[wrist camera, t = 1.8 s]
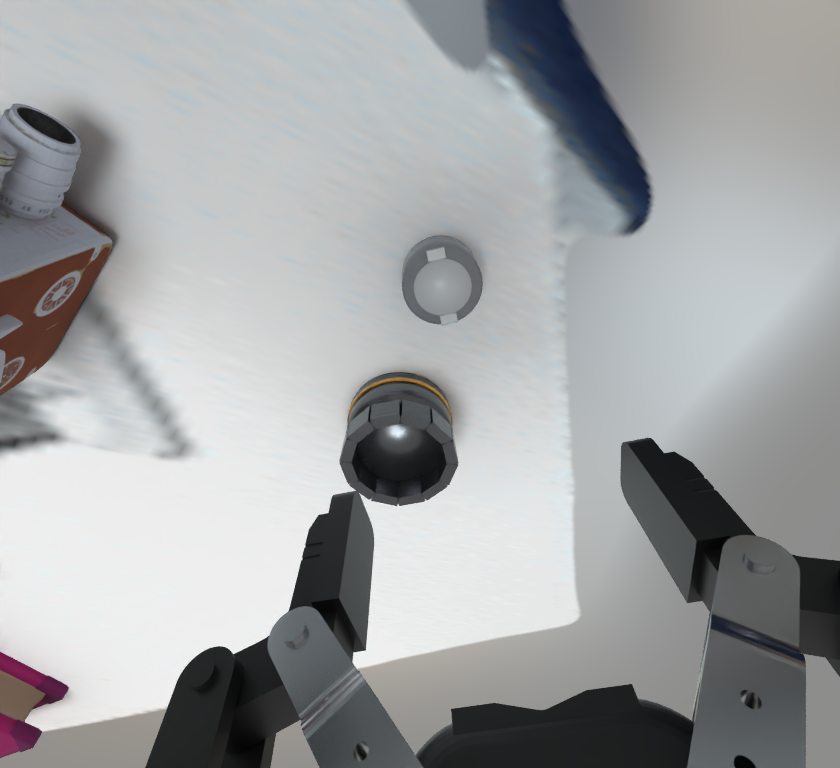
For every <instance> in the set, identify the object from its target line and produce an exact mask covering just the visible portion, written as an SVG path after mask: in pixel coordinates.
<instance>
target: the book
mask: <svg viewBox="0 0 840 768" xmlns="http://www.w3.org/2000/svg"><path fill="white" fill-rule="evenodd" d="M68 688H69V687H68V686H67V685H65V684H63V683H62V682H60V681H58V680H56V679H54V678H52V677H50V676H46V675H44V674H42V673H40V672H38V671H36V670H34V669H32V668H30V667H29V666H27V665H25V664H23V663H21V662H19V661H17V660H15V659H13V658H11V657H9V656H7V655H5V654H3V653H1V652H0V758H1V757H4V756H7V755H10V754H13V753H16V752H18V751H20V752H22V751H25V750H28V749H31V748H33V747H34V745H35V744H36V742H37V740H38V739H39V737H40V735H41V733H42V731H41V730H40V729H38V728H36V727H34V726H32V725H29V724H27V723H25V719H26V718H27V716H28V715H29V713H30V711H31V710H32V709H35V708H37V707H40V706H42V705H45V704H51V703H54V702H56V701H59V700H62V699H63V697H64V695H65V694H66V692H67V690H68Z"/></svg>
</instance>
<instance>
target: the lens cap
mask: <svg viewBox="0 0 840 768" xmlns="http://www.w3.org/2000/svg"><path fill="white" fill-rule="evenodd" d="M482 284H483V283H482V275H481V272H480V269H479V267H478V265H477V263H476V261H475V259H474V257H473V256H472V254H471V252H470V251H469V249H468V248H467V247H466V246H465V245H464V244H463V243H461V242H460V241H458V240H457V239H454V238H452V237H448V236H433V237H429V238H426V239H424V240H422V241H421V242H419V243H418V244H416V245H415V246H414V247H413V248H412V249H411V251H410V252H409V253H408V255H407V257H406V259H405V262H404V266H403V281H402V287H403V295H404V299H405V301H406V303H407V305H408V307H409V308H410V310H411V311H412V312H413V313H414V314H415V315H416V316H418V317H419V318H420V319H422V320H424V321H427V322H429V323H434V324H442V325H446V324H451V323H455V322H458V320H460V319H462V318H464V317H465V316H466V315H468V314H469V313H470V312H471V311H472V310H473V309H474V307H475V306H476V304H477V303H478V301H479V299H480V296H481V292H482Z"/></svg>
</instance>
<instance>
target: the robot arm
mask: <svg viewBox="0 0 840 768" xmlns="http://www.w3.org/2000/svg"><path fill="white" fill-rule="evenodd" d="M621 487H622V491H623V494H624V497H625V499H626V501H627V503H628V505H629V506H630V508H631V510H632V511H633V513H634V515H635V516H636V518H637V520H638V521H639V523H640V525H641V526H642V528H643V530H644V531H645V533H646V535H647V536H648V538H649V540H650V541H651V543H652V545H653V546H654V548H655V550H656V551H657V553H658V555H659V557H660V558H661V560H662V561H663V563H664V565H665V567H666V568H667V570H668V572H669V573H670V575H671V577H672V578H673V580H674V582H675V583H676V585H677V587H678V588H679V590H680V592H681V593H682V595H683V596H684V598H685V600H686V602H687V603H690V602H697V601H703V602H704V603H705V605H706V606H707V608H708V610H709V611H710V613H709V618H708V624H707V631H706V636H705V643H704V649H703V654H702V660H701V666H700V672H699V678H698V684H697V689H696V695H695V701H694V706H693V712H692V717H691V720H689V719H688V718H686V717H685V716H683V715H681V714H680V713H678V712H676V711H674V710H672V709H670V708H667V707H665V706H662V705H660V704H657V703H654V702H650V701H647V700H642V699H638V698H637V696H636V693H635V691H634V688H633V686H632V684H629V685H622V686H615V687H607V688H600V689H593V690H586V691H584V692H582V693H580V694H578V695H576V696H574V697H571V698H569V699H567V700H565V701H563V702H561V703H559V704H557V705H555V706H553V707H551V708H549V709H546V710H534V709H528V708H522V707H515V706H510V705H503V704H496V703H492V704H484V705H477V706H470V707H462V708H455V709H451V712H452V724H450V725H448V726H446V727H444V728H443V729H441V730H440V731H439V732H437V733H436V734H435V735H433V736H432V737H431V738H430V739H429V740H428V741H427V742H426V743H425V744H424V745H423V747H422V748H421V749H420V750H419V751H418V753H417V754H416V756H415V754H414V753H413V751H412V750H411V748H410V747H409V745H408V743H407V742H406V741H405V739H404V737H403V736H402V734H401V733H400V731H399V730H398V729H397V727H396V726H395V724H394V722H393V721H392V719H391V718H390V717H389V715H388V713H387V712H386V710H385V709H384V707H383V706H382V704H381V703H380V701H379V700H378V698H377V697H376V695H375V694H374V692H373V691H372V689H371V688H370V686H369V685H368V683H367V682H366V680H365V679H364V678H363V676H362V674H361V673H360V672H359V671H358V670H357V669H356V667H355V666H354V664H353V663H352V659H353V652H358V651H365V650H366V640H367V627H368V615H369V602H370V589H371V577H372V564H373V551H374V534H373V529H372V525H371V522H370V519H369V517H368V514H367V512H366V509H365V507H364V504H363V502H362V499H361V496H360V494H359V492H358V491H352V492H347V493H342V494H336V495H333V496H332V499H331V504H330V509H329V513H327V514H322V515H318V517H317V518H316V520H315V521H314V523H313V524H312V526H311V527H310V529H309V532H308V536H307V540H306V544H305V545H306V548H304V552H303V556H302V558H303V560H302V561H301V564H300V568H299V573H298V577H297V581H296V585H295V589H294V593H293V597H292V601H291V605H290V608H289V611H288V612H287V613H286V614H285V615H283V616H282V617H281V618H280V619H279V620H278V621H277V622H276V624H275V625H274V627H273V629H272V630H271V632H270V635H269V636H268V637H267V638H265V639H263V640H262V641H260V642H258V643H256V644H254V645H252V646H250V647H248V648H246V649H244V650H242V651H240V652H237V653H235V654H233V653H232V652H231V651H230V650H229V649H227V648H225V647H220V646H218V647H213V648H210V649H207V650H205V651H203V652H202V653H200V654H199V655H197V656H196V657H195V658H194V659H193V660H192V661H191V662H190V663H189V664H188V665H187V666H186V667H185V669H184V670H183V672H182V673H181V675H180V677H179V679H178V681H177V683H176V686H175V689H174V691H173V694H172V697H171V700H170V702H169V705H168V708H167V711H166V713H165V716H164V719H163V721H162V724H161V727H160V730H159V732H158V735H157V738H156V740H155V743H154V746H153V749H152V751H151V754H150V757H149V759H148V762H147V765H146V767H145V768H270V766H271V760H272V754H273V748H274V742H275V736H276V733H277V732H279V731H280V730H282V729H284V728H286V727H288V726H290V725H291V724H293V723H295V722H297V721H299V720H301V721H302V723H301V727H302V730H303V733H304V735H305V737H306V740H307V742H308V744H309V746H310V748H311V750H312V752H313V754H314V756H315V759H316V761H317V763H318V765H319V767H320V768H806V662H805V657H804V655H803V654H808V655H814V656H820V657H826V659H827V660H828V661H829V663H830V664H831V666H832V667H833V668H834V670H835V671H836V672H837V674H838V675H839V676H840V561H835V560H826V559H817V558H807V557H800V556H795V555H791V554H790V553H789V552H788V551H787V550H786V549H784V548H783V547H782V546H780V545H779V544H777V543H775V542H773V541H771V540H768V539H766V538H763V537H759V536H756V535H755V534H754V533H753V532H752V531H751V530H750V529H749V527H748V526H747V525H746V524H745V523H744V522H743V520H742V519H741V518H740V517H739V516H738V515H737V514H736V512H735V511H734V510H733V509H732V508H731V507H730V505H729V504H728V503H727V502H726V501H725V500H724V499H723V498H722V496H721V495H720V494H719V493H718V492H717V491H716V490H714V487H713V486H712V485H711V484H710V482H709V481H708V480H707V479H705V478H704V476H703V475H702V473H701V472H700V471H699V470H698V469H697V467H696V466H694V464H693V463H692V462H691V461H689V460H687V459H686V458H684V457H682V456H681V455H679V454H677V453H676V452H670V453H663V451H662V450H661V449H660V448H659V447H658V445H657V444H656V443H655V442H654V440H652V439H651V438H645V439H640V440H634V441H629V442H623V443H622V446H621ZM801 653H803V654H801Z"/></svg>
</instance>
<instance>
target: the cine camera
mask: <svg viewBox="0 0 840 768" xmlns="http://www.w3.org/2000/svg"><path fill="white" fill-rule="evenodd" d="M80 145H81V141H80V140H79V138H78V137H77V136H76V134H75V133H74V132H73V131H71V130H70V129H69V128H68V127H67V126H65V125H64V124H62V123H61V122H60V121H58V120H56V119H55V118H53V117H51V116H50V115H48V114H46V113H44V112H42V111H40V110H38V109H35V108H32V107H30V106H27V105H22V104H13V105H12V107H11V108H10V109H7V110H5V111H4V114H3V116H2V119H1V121H0V395H2V394H3V393H5V392H6V391H8V390H10V389H11V388H13V387H14V386H16V385H17V384H19V383H20V382H21V381H23V380H24V379H26V378H27V377H28V376H30V375H31V374H33V373H34V372H36V371H37V370H38V369H40V368H41V367H42V366H43V365H44V364H45V363H46V362H47V361H48V360H49V359H50V357H51V356H52V354H53V353H54V351H55V350H56V348H57V346H58V344H59V343H60V341H61V339H62V337H63V336H64V334H65V332H66V330H67V328H68V327H69V325H70V323H71V321H72V320H73V318H74V316H75V314H76V312H77V311H78V309H79V307H80V305H81V304H82V302H83V300H84V298H85V296H86V295H87V293H88V291H89V289H90V288H91V286H92V284H93V282H94V280H95V279H96V277H97V275H98V273H99V272H100V270H101V268H102V266H103V264H104V263H105V261H106V259H107V257H108V256H109V253H110V251H111V248H112V240H111V239H110V237H109V236H108V235H106V234H105V233H104V232H102V231H101V230H100V229H98V228H97V227H95V226H94V225H93V224H91V223H90V222H88V221H87V220H85V219H84V218H83V217H81V216H80V215H78V214H77V213H75V212H74V211H73V210H71V209H70V208H68V207H67V206H65V205H64V204H62V202H63V200H64V194H63V193H64V192H67V191H68V190H69V188H70V186H71V183H72V180H71V178H72V176H73V174H74V172H75V170H76V167H77V166H76V163H77V161H78V159H79V157H80V154H81V149H80Z"/></svg>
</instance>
